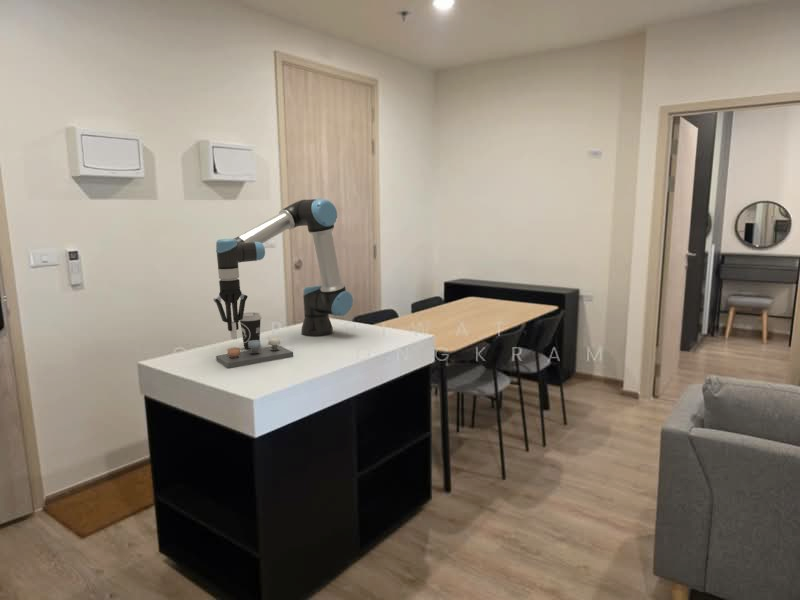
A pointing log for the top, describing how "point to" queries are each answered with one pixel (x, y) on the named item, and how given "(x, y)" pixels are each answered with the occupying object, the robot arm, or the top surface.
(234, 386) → the top surface
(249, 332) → the coffee cup
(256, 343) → the button blue
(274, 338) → the button cream
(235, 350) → the button terracotta
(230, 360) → the panel
